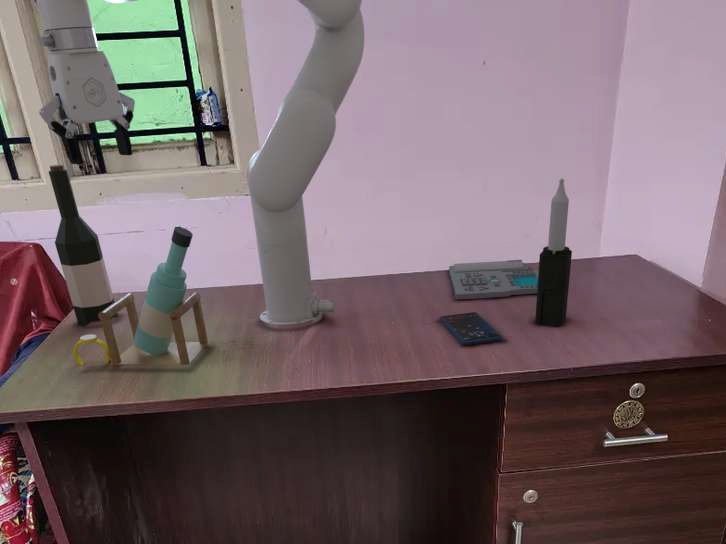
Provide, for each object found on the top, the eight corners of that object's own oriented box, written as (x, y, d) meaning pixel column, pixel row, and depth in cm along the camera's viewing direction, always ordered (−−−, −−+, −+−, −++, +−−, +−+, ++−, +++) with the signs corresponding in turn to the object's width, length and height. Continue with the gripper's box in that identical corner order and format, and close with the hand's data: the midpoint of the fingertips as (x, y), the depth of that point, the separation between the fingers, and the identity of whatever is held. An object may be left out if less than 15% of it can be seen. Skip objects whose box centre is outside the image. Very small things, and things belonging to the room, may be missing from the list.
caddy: (210, 347, 133) (200, 291, 128) (189, 370, 124) (177, 311, 119) (137, 347, 136) (124, 292, 130) (111, 370, 126) (95, 312, 121)
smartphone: (475, 311, 139) (503, 336, 127) (475, 315, 140) (503, 341, 127) (438, 316, 138) (462, 342, 126) (438, 320, 139) (462, 346, 126)
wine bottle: (106, 327, 146) (63, 168, 130) (70, 327, 148) (23, 169, 132) (126, 314, 153) (87, 161, 137) (91, 314, 155) (49, 162, 139)
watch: (77, 373, 126) (67, 340, 123) (81, 367, 129) (72, 335, 125) (111, 370, 126) (102, 338, 123) (115, 364, 129) (106, 332, 125)
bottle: (217, 347, 130) (197, 223, 119) (206, 359, 125) (183, 231, 114) (145, 345, 132) (118, 223, 121) (131, 358, 127) (101, 232, 116)
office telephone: (448, 259, 167) (534, 255, 166) (448, 271, 168) (533, 266, 168) (456, 287, 147) (553, 282, 146) (456, 300, 149) (552, 295, 148)
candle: (566, 318, 136) (580, 176, 122) (560, 327, 132) (573, 181, 119) (540, 316, 138) (550, 175, 124) (533, 324, 134) (543, 180, 121)
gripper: (33, 44, 108) (68, 168, 117) (131, 38, 118) (156, 152, 128) (10, 47, 112) (45, 166, 121) (106, 41, 122) (132, 151, 132)
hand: (102, 159), depth 124 cm, fingers open, 9 cm apart
